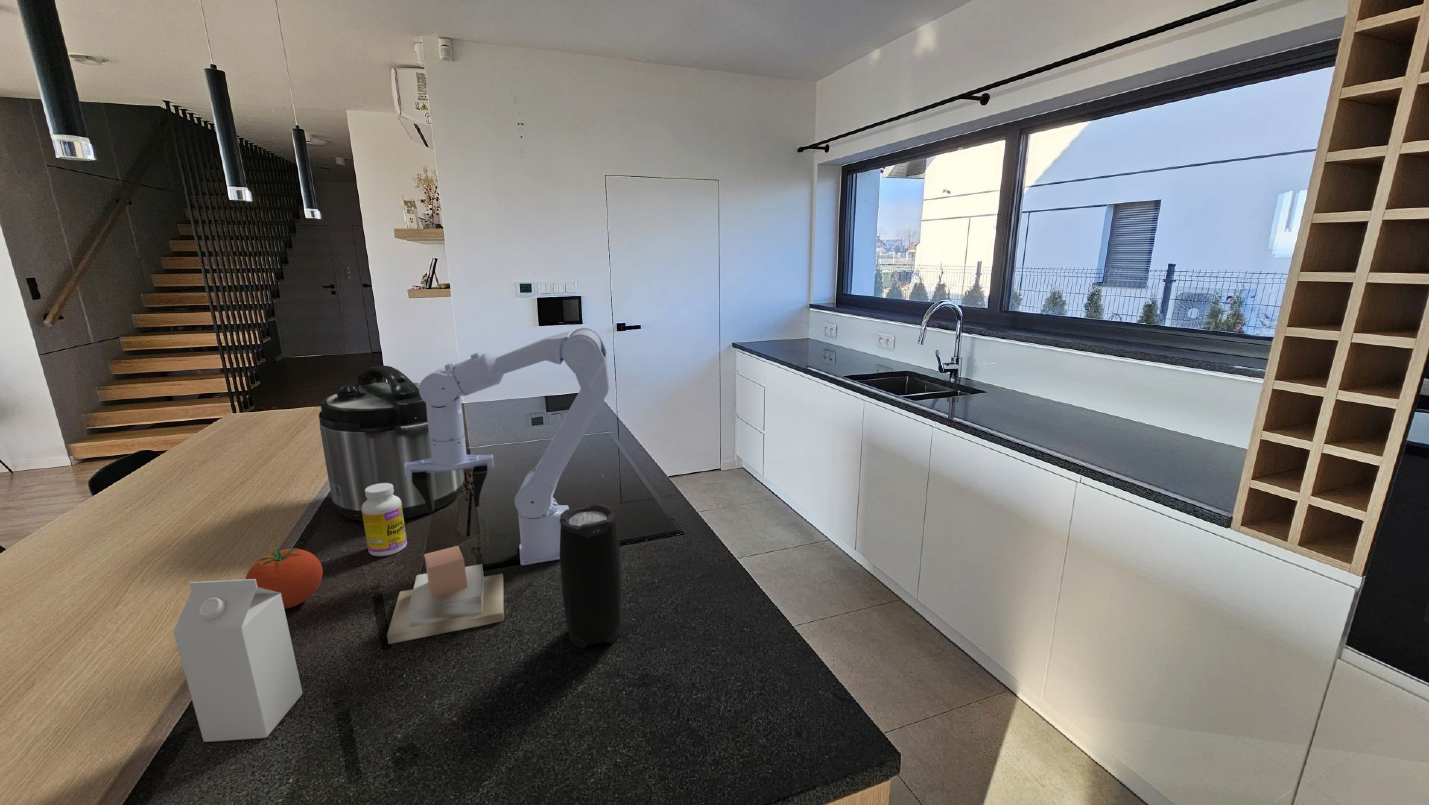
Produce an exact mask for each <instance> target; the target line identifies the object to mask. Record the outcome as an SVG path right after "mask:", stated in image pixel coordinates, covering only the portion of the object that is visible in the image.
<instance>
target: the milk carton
mask: <svg viewBox="0 0 1429 805" xmlns="http://www.w3.org/2000/svg"><path fill="white" fill-rule="evenodd" d="M188 584H189V587H190V593H189V595H188V598H187V600H186V602H185V604H184V607H183V609H182V611H181V614H179V615H180V616H179V618H178V621H177V623H176V625H175V627H174V629H173V635H174V639H175V642H176V647H177V650H178V654H179V656H180V661H181V664H182V667H183V668H182V669H183V671H184V672H183V673H184V676H185V679H186V683H187V685H188V689H189V694H190V698H191V701H192V705H193V708H194V711H195V716H196V719H197V722H198V726H199V730H200V733H201V737H202V741H203V742H205V743H207V742H209V743H210V742H211V743H212V742H223V741H225V742H226V741H237V740H252V739H265V738H268V737H269V735H270V734H271V733H272V732H273V730H274V729H275V728H276V727H277V726H278V724H279V723H280V722H281V721H282V720H283V719H284V717H285V716H286V715H287V714H288V712H289V711H290V710H291V709H292V707H293V706H294V705H295V704H296V703H297V701H298V700H299V699H300V698H301V696H302V695H303V688H302V685H301V680H300V675H299V671H298V665H297V662H296V657H295V653H294V648H293V642H292V638H291V634H290V630H289V629H290V628H289V624H288V620H287V616H286V615H287V614H286V611H285V609H284V605H283V601H282V596H281V593H279V592H275V591H271V590H267V589H263V588H258V587H257V583H256V579H245V578H244V579H228V580H225V579H224V580H223V579H222V580H209V581H207V580H205V581H204V580H203V581H190V582H189V583H188Z"/></svg>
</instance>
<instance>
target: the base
mask: <svg viewBox="0 0 1429 805" xmlns="http://www.w3.org/2000/svg"><path fill="white" fill-rule="evenodd" d="M465 571H466V579H467V588H464V589H460V590H457V591H453V592H450V593H446V594H443V595H439V596H436V597H433V596H432V593H431V590H430V586H429V583H428V577H427V573H422V574H421V573H420V574H417V575H416V576H415V582H414V585H413V589H407V590H401V591H399V594H398V597H397V600H396V604H395V607H394V610H393V614H392V617H391V621H390V624H389V627H388V631H387V634H386V638H387V643H388V645H390V644H396V643H401V642H407V641H413V640H416V639H420V638H421V639H422V638H426V637H431V636H436V635H441V634H445V633H450V632H451V633H452V632H457V631H461V630H466V629H470V628H471V629H472V628H476V627H481V626H486V625H491V624H495V623H496V624H497V623H501V622H504V620H505V611H504V610H505V605H504V604H505V600H504V595H505V594H504V573H499V574H492V575H487V576H484V568H483V563H481V564H475V565H469V566H465Z"/></svg>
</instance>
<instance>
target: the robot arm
mask: <svg viewBox="0 0 1429 805" xmlns="http://www.w3.org/2000/svg"><path fill="white" fill-rule="evenodd" d="M570 333H571V334H570ZM569 334H570V335H569ZM605 346H606V345H605V344H604V342H603V340H602V337H601V336H600V334H598V333H597V332H596V330H593V329H592V328H588V327H581V328H576V329H575V330H573V331H572V332H571V331H564V332H561V333H557V334H553V335H549V336H547V337H544V338H542V339H539V340H537V341H534V342H531V343H529V344H527V345H524V346H522V347H519V348H516V349H514V350H512V351H509V352H507V353H504V354H502V355H499V356H496V355H493V354H490V353H488V352H485V353H483V354H481V353H480V352H479V351H477V352H475V353H472V354H471V355H470V358H469V359H467V360H464V361H461V362H458V363H454V364H453V363H452V362H451V363H447V364H445V365H444V368H439V369H436V370H435V371H433V372H431V373H430V374H428V375H427V376H425V377H424V378H423V379H422V380H421V381H420V382H419V383H420V386H419V393H420V396H421V398H422V399H423V401H424V402H426V409H427V421H428V430H429V438H430V447H431V456H432V458H431V459H425V460H420V461H415V462H407V463H405V465H404V471H405V476H412V483H413V485H414V486H415V487H416V488H417V489H418V491H419V492H420V494H421V495H422V497H423V499H424V500H425V503H426V505H427V507H428V511H429V512H428V513H430V514H431V513H434V511H435V510H434V500H433V495H432V489H431V476H430V473H432V472H442V471H452V470H462V469H463V470H469V469H471V470H472V482H473V490H474V492H473V494H474V498H473V499H474V501H473V502H474V508H479V507H480V499H481V498H480V495H481V492H482V489H483V486H484V483H485V480H486V478H487V475H488V469H493V468H494V467H495V466H494V465H495V464H494V463H495V462H494V455H493V454H469V455H467V454H466V444H465V437H466V433H465V434H464V432H465V427H464V415H463V409H462V400H461V397H466V396H469V395H472V394H474V393H477V392H479V391H480V392H481V391H483V390H485V389H488V388H491V387H494V386H496V385H499V384H500V383H502V380H503V378H504V375H506V374H508V373H511V372H514V371H516V370H521V369H522V368H523V369H524V368H526V367H530V366H532V365H535V364H539V363H541V362H544V361H545V362H546V361H547V362H550V363H553V364H556V365H561V364H562V363H563V361H564V362H565V364H566V365H567V367H568V368H569V369H570V370H571V371H572V373H573V374H574V375H575V377H576V380H577V383H578V385H579V386H580V389H579V392H578V393H577V395H576V397H575V399H574V400H573V402H572V404H571V406H570V407H569V409H568V411H567V413H566V414H565V417H564V418H563V420H562V422H561V423H560V425H559V427H558V429H557V430H556V432H555V433H554V436H553V437H552V439H551V440H550V443H549V445H548V446H547V448H546V449H545V451H544V454H543V455H542V457H541V459H540V460H539V461H538V463H537V464H536V466H535V467H534V468H533V469H531V470H530V471H528V472H527V473H526V474H525V476H524V478H523V481H522V484H521V485H520V488H519V489H518V491H517V493H516V494H515V495H514V507H515V509H516V510H517V514H518V526H519V536H520V544H519V546H518V548H519V562H520V565H521V566H528V565H534V564H539V563H545V562H549V561H550V562H551V561H556V560H560V529H561V523H560V515H561V514H562V513H563V512H564V511H565V510H567V509H570V508H569V505H568V504H567V505H564V504H563V505H561V504H559V503H558V502H557V500H556V499H555V498H554V493H555V491H556V489H557V487H558V486H557V485H558V482H559V480H560V478H561V476H562V473H563V472H564V470H565V468H566V467H567V465H568V463H569V461H570V460H571V458H572V456H573V455H574V452H575V451H576V449H577V447H578V446H579V444H580V442H581V441H582V439H583V437H584V435H585V434H586V432H587V430H588V428H589V427H590V425H591V423H592V421H593V419H594V418H595V417H596V415H597V413H598V411H599V410H600V408H601V406H602V404H603V402H604V400H605V398H606V397H607V395H608V394H609V391H610V378H609V367H608V356H607V349H606V347H605Z"/></svg>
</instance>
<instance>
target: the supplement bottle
mask: <svg viewBox="0 0 1429 805" xmlns="http://www.w3.org/2000/svg"><path fill="white" fill-rule="evenodd" d="M393 492H394V489H393V485H392V484H390V483H379V484H375V485H371V486H369V487H367V488H366V489H365V496H366V497H367V501H365V502H364V503H363V505H362V515H363V521H362V522H363V526H364V532H365V533H364V534H365V538H366V546H367V550H368V553H369V554H370V555H371V556H374V557H375V556H376V557H387V556H391V555H394V554H397V553H398V552H400V551H401V552H402V550H403V549H405V548H406V546H407V544H408V540H407V532H406V526H405V518H403V510H402V503H401V500H400V498H399V497H397V496H395V495H393Z"/></svg>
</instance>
